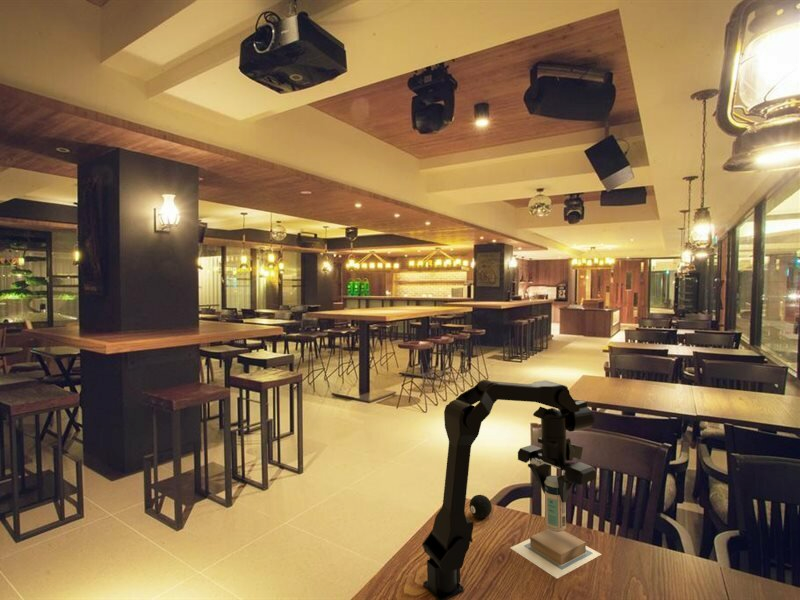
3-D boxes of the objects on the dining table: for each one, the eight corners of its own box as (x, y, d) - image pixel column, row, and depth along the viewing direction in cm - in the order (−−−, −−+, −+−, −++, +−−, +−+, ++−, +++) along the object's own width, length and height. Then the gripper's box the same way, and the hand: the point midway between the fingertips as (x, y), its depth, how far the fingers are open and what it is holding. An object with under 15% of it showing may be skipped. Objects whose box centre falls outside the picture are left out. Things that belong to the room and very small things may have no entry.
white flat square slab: (557, 581, 97) (557, 578, 97) (509, 550, 109) (509, 547, 109) (601, 556, 105) (601, 553, 105) (553, 530, 117) (553, 527, 117)
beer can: (563, 522, 110) (562, 474, 109) (568, 533, 105) (567, 483, 105) (543, 522, 110) (542, 474, 110) (547, 532, 106) (546, 483, 105)
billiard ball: (496, 518, 124) (495, 497, 124) (480, 524, 121) (479, 503, 121) (481, 509, 129) (480, 489, 129) (465, 515, 126) (465, 494, 126)
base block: (561, 565, 101) (560, 554, 101) (530, 546, 109) (530, 536, 109) (585, 552, 106) (585, 542, 106) (554, 535, 114) (554, 525, 114)
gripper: (609, 437, 103) (610, 503, 104) (544, 419, 119) (546, 476, 120) (579, 448, 98) (580, 518, 98) (515, 427, 113) (517, 487, 114)
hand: (555, 498), depth 107 cm, fingers closed on beer can, 5 cm apart
